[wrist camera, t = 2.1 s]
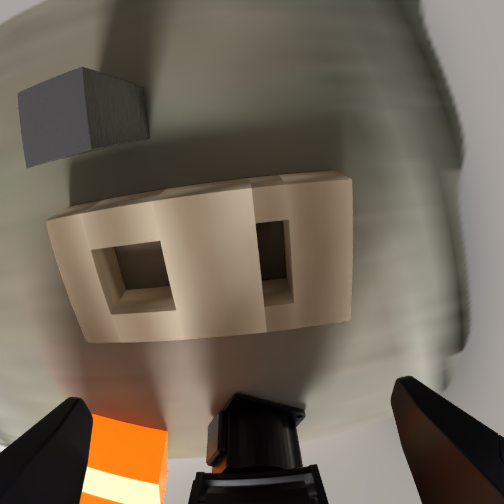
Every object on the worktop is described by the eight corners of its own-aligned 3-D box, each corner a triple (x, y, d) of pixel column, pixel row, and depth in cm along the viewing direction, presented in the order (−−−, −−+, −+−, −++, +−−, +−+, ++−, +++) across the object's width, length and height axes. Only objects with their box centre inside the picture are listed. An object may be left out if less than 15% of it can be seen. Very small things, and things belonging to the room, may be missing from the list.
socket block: (334, 170, 17) (352, 179, 15) (336, 295, 20) (350, 320, 18) (69, 206, 18) (45, 221, 15) (102, 317, 21) (87, 343, 18)
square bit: (143, 87, 15) (82, 66, 8) (149, 138, 16) (91, 149, 9) (95, 99, 15) (17, 93, 8) (101, 148, 16) (26, 168, 10)
